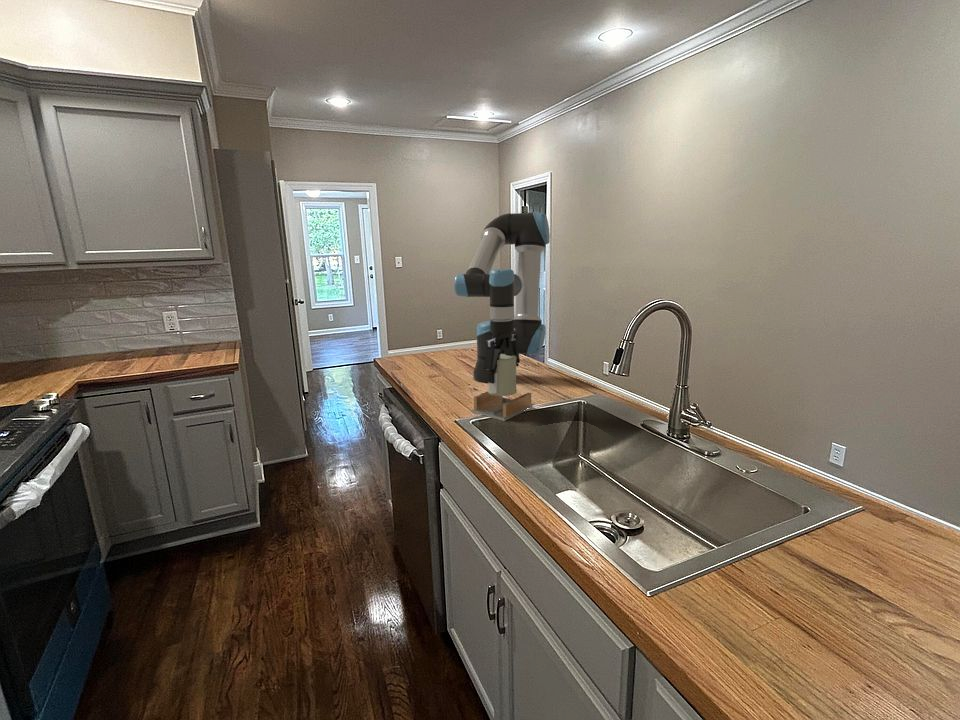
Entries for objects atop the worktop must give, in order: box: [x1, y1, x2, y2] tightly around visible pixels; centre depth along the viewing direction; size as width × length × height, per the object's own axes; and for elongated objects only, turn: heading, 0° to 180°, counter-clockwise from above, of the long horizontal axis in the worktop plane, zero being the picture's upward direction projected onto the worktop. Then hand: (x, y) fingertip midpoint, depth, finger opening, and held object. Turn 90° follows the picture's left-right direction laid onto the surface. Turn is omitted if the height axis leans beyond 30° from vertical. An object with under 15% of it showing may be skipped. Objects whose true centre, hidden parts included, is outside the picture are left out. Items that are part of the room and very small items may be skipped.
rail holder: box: [471, 391, 534, 422], centre depth 155 cm, size 16×13×5 cm
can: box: [488, 354, 518, 397], centre depth 153 cm, size 9×9×12 cm
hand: (502, 388), depth 154 cm, fingers closed on can, 9 cm apart
